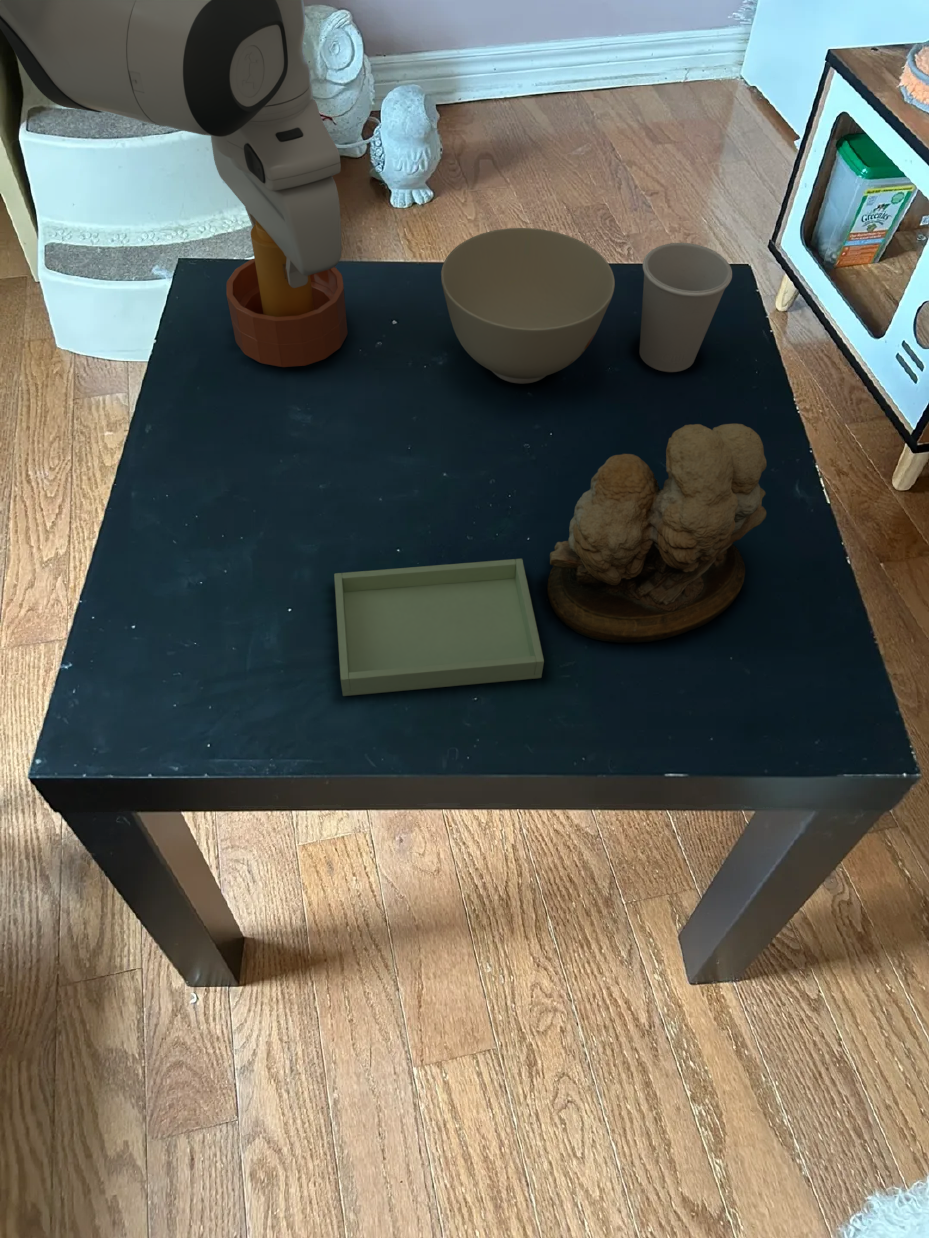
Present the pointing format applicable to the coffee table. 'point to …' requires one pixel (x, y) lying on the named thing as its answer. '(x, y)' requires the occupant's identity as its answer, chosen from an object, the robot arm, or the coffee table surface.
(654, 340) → the dixie cup
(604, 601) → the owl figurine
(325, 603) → the coffee table surface
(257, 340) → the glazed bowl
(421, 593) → the tray
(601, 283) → the bowl
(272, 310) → the bottle
